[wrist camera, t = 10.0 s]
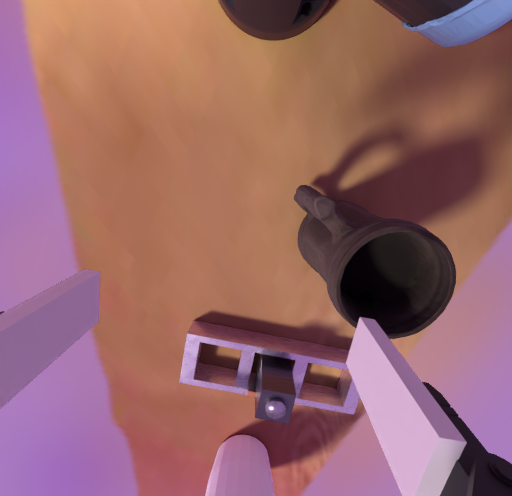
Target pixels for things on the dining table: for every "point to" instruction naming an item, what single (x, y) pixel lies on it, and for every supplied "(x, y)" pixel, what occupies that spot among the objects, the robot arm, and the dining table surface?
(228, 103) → the dining table surface
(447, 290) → the beer stein
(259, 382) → the square peg with dome
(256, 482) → the bottle
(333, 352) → the frame with square openings
